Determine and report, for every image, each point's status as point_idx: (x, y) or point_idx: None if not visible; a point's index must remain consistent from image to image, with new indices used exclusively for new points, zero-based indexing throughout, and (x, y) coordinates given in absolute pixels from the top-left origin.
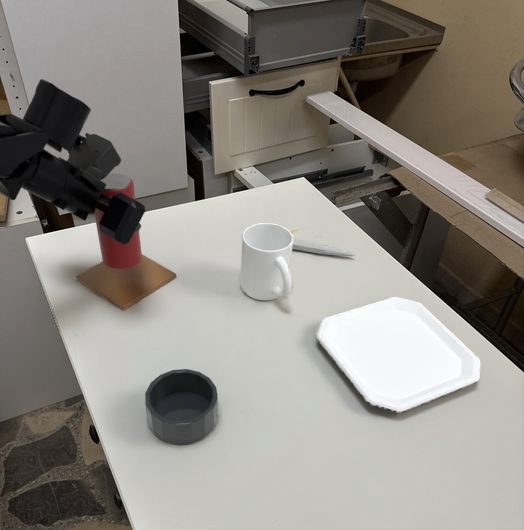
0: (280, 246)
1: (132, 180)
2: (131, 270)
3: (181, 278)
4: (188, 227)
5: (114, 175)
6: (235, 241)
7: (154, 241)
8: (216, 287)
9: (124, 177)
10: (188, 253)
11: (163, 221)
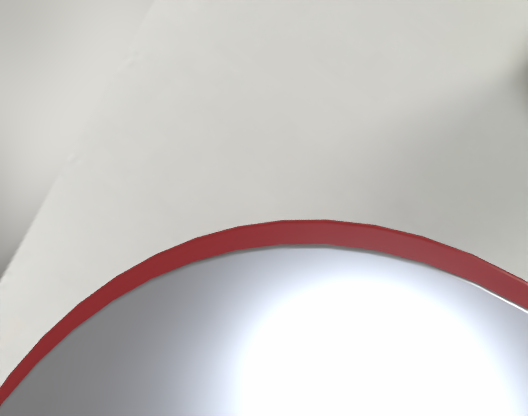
0: None
1: (468, 253)
2: None
3: (413, 231)
4: (228, 53)
5: (132, 412)
6: (373, 9)
7: (209, 164)
8: (517, 187)
9: (349, 330)
10: (327, 134)
11: (152, 82)
